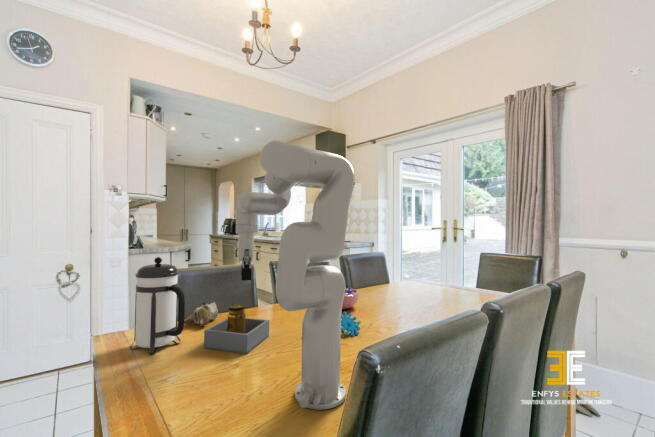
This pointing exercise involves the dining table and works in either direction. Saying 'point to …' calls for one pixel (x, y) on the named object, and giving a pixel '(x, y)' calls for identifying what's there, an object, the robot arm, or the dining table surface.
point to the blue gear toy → (349, 324)
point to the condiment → (236, 319)
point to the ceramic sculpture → (203, 314)
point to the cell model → (350, 298)
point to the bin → (236, 336)
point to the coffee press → (158, 306)
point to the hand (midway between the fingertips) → (246, 277)
